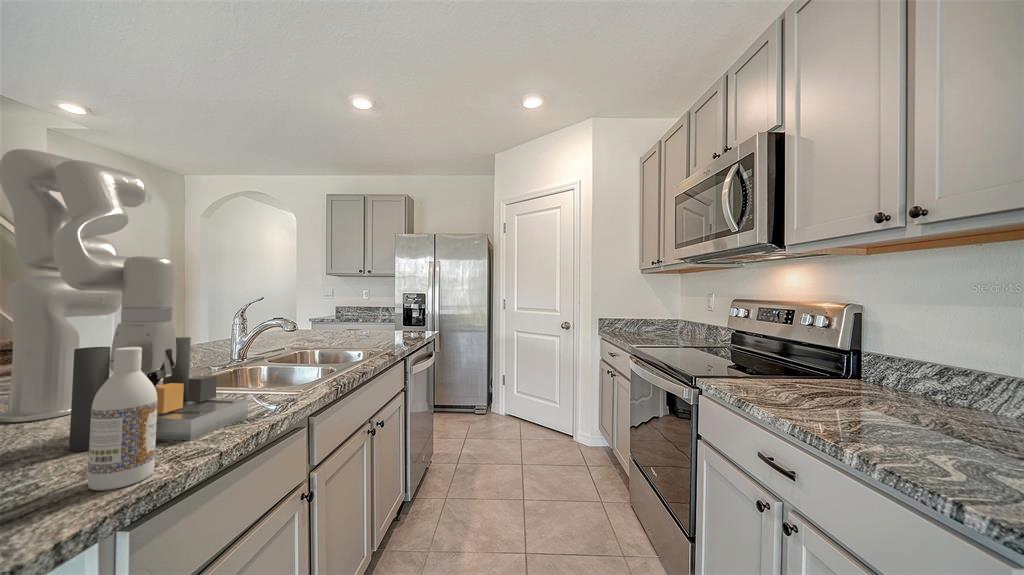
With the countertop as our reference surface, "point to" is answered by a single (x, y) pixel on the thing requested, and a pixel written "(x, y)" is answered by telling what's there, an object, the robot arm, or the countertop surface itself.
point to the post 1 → (86, 392)
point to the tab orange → (169, 397)
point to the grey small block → (202, 388)
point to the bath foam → (123, 425)
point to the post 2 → (181, 365)
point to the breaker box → (200, 418)
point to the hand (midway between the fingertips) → (143, 405)
